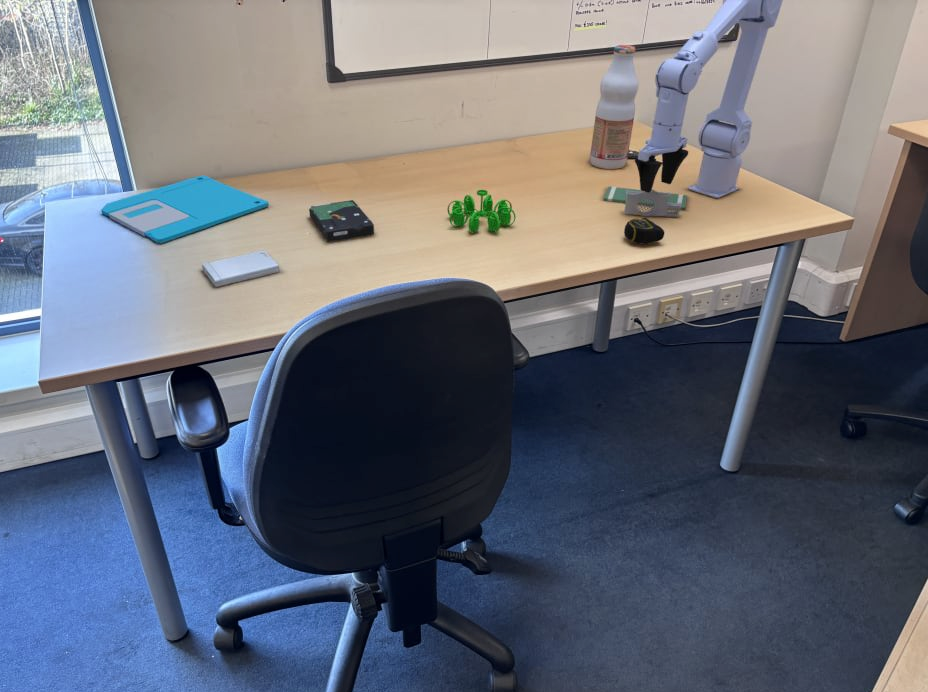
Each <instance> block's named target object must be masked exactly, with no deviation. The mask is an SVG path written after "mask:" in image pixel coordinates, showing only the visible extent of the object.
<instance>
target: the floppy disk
mask: <svg viewBox="0 0 928 692" xmlns="http://www.w3.org/2000/svg"><path fill="white" fill-rule="evenodd" d="M269 205H270V204H269V201H268V200H266V199H263V198H260V197H257V196H254V195H252V194H250V193H247V192H244V191H242V190H241V189H238V188H235V187H233V186H230V185H227V184H225V183H223V182H220V181H218V180H215V179H213V178H211V177H208V176H207V175H199V176H195V177H192V178H188V179H185V180H181V181H177V182H175V183H172V184H168V185H163V186H161V187H158V188H155V189H152V190H148V191H145V192H141V193H138V194H135V195H131V196H128V197H124V198H121V199H118V200H114V201H110V202H108V203H106V204H105V205H104V206H103V207H102V208H101V209H100V211H101V214H103V215H105V216H107V217H109V219H111V220H112V221H114V222H117V223H119V224H120V225H122V226H123V227H126V228H128V229H130V230H132V231H133V232H135V233H137V234H139V235H141V236H143V237H148V238H150V239H151V240H152V241H153V242H156V243H157V244H163V243H166V242H169V241H172V240H175V239H178V238H180V237H184V236H186V235H189V234H192V233H195V232H198V231H201V230H204V229H207V228H209V227H212V226H215V225H218V224H221V223H224V222H226V221H230V220H233V219H235V218H238V217H242V216H244V215H247V214H250V213H252V212H255V211H258V210H262V209H264V208H267V207H269Z"/></svg>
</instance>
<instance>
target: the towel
mask: <svg viewBox="0 0 928 692" xmlns="http://www.w3.org/2000/svg"><path fill="white" fill-rule="evenodd" d="M626 190H629V191H640V190H641V189H635V188H625V187H617V186H607V188H606V191H605V193H604V196H603V201H605V202H614V203H622V204H626V198H627V194H626ZM658 192H659V193H663V192H662V191H658ZM645 199H646V200H645ZM649 199H650V198H648V199H647V198H644V199H642V200H641V201H642V202H641V201H639V202H641V203H643V202H645V201H647V200H649ZM643 200H644V201H643ZM687 200H688V195H687V194H680V193H670V197H668V201H667V202H669V203H682V206H681V207H680V210H679V211H685V210H686V207H687ZM651 201H653V200H652V199H651ZM651 201H650V200H649V202H651ZM647 202H648V201H647ZM649 202H648V203H649ZM641 203H640V204H641ZM645 203H646V202H645ZM645 203H643V204H644V206H645ZM652 203H653V204H652ZM640 204H638V205H639V206H640ZM643 204H641V205H642V206H643ZM650 204H652V205H650ZM650 204H648V205H650V206H648V205H647V203H646V206H648V207H651V206H652V207H654V206H653V205H655V204H654V202H651V203H650ZM646 206H645V207H646Z"/></svg>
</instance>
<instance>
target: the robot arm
mask: <svg viewBox="0 0 928 692" xmlns="http://www.w3.org/2000/svg"><path fill="white" fill-rule="evenodd" d="M783 1H784V0H722V5H721V6H720V7H719V9H718V11H717V12H716V13H715V15H714V16H713V17H712V19H711V20H710V21H709V23H708V24H707V25H706V27H705V28H704V30H698V31H695V32H694V33H692V34H693V35H691V37H690V38H689V39H688V40H687V41H686V42H685V44H684V45H683V46H682V47H681V48H680V50H679V51H678V52H676V54H675V55H674V56H673V57H670V58H667V59H665V60H663V61H662V62H661V63H660V65H659V66H658V69H657V72H656V73H655V77H654V82H655V86H656V89H655V90H656V91H655V96H656V98H657V101H656V108H655V111H654V112H655V114H654V118H653V124H652V129H651V134H650V138H649V139H646V140H645V146H644V147H643V148H641V149H639V151H638V155H635V157H634V162H635V165H636V167H637V172H638V175H639V188H640V190H641V191H645V192H648V193H649V192H650V191H651V189H652V190H653V187H654V183H655V179H656V177H657V175H658V172H659V170H660V168H661V174H660V177H661V178H660V182H661V183H663V184H666V185H672V183H673V181H674V178H675V176H676V173H678V170H679V168H680V166H681V165H682V163H683V162H684V161H685V159H686V158H687V157H688V155H689V151H688V150H687V149H685V148H687V144H688V139H689V138H687V137H685V136H681V135H682V130H683V124H684V119H685V115H686V110H687V104H688V99H689V94H690V92H691V91H692V90H693V89H695V87H696V86H697V83H698V81H699V78H700V77H701V75H702V72H703V68H704V67H705V66H706V64H707V63H708V62H709V61H710V60H711V59H712V58H713V56H714V55H715V54H716V53H717V52H718V49H719V43H718V42H719V41H720V40H721V39H723V37H724V36H726V34H727V33H728V32H729V31H730V30H731V29H732V28H733V27H734V26H735V25H737V24H738V25H739V28H740V30H741V33H740V35H739V36H740V37H739V39H738V42H737V45H736V49H735V54H734V56H733V60H732V63H731V67H730V70H729V73H728V77H727V79H726V80H727V81H726V84H725V87H724V91H723V95H722V96H721V97H722V98H721V101H720V104H719V107H718V108H716V109H714V110H712V111H710V112H709V113H707V114H706V117H705V120H704V122H703V124H702V126H701V127H700V129H699V132H698V137H697V138H698V144H699V147H701V149H700V151H701V152H702V153H703V154H702V157H701V163H700V167H699V172H698V177H697V180H696V183H695V184H693V185H691V186H688V188H687V190H689V191H692V192H696V193H698V194H702V195H706V196H708V197H712V198H715V199H720V198H722V197H724V196H727V195H729V194H731V193H733V192H736V191H738V190H739V189H740V187H739V186H737V182H738V178H739V174H740V170H741V167H742V156H741V154H743V153H744V152H745V151H746V149H747V148H748V145H749V143H750V139H751V132H752V131H751V129H752V125H753V121H752V119H751V118H750V117H749V115H748V114H747V113H746V111H745V110H744V109H745V106H746V103H747V100H748V97H749V93H750V90H751V87H752V83H753V81H754V77H755V75H756V70H757V67H758V65H759V61H760V58H761V55H762V52H763V48H764V44H765V41H766V38H767V35H768V32H769V29H772V28H774V27H775V26H776V22H777V20H778V18H779V13H780V10H781V8H782V4H783ZM657 156H661V161H659V160H657V158H656V157H657Z"/></svg>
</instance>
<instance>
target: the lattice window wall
mask: <svg viewBox="0 0 928 692" xmlns="http://www.w3.org/2000/svg"><path fill="white" fill-rule="evenodd" d="M639 190H640V191H629V190H626V194H627V198H626V203H624V204H625V205H624V211H623V212H624V215H634V216H635V215H636V216H637V215H638V216H641V217H649V216H651V217H653V216H654V217H669V218H671V217H672V218H678V217H679V214H680V211H681V210H680V207H681V206H682V203H669V202H667V201H668V197H670V194H671V192H662V193H659V192H660V191H657V190H654V189H653V188H652V189H651V191H650V192H649V193H648V192H645V191H641V189H639ZM644 198H647V199H648V198H650V199H649V200H650V201H651V199H652V200H653V201H651V202H654V204H655V205H653V206H650V205H652V204H653V203H652V204H650V203H651V202H649V200H647V201H648V202H649V203H648V202H647V201H645V202H646V203H647V205H648V204H650V205H648V206H646V203H645V202H643V203H645V205H644V204H643V203H641V202H642V201H641V200H642V199H644ZM645 200H646V199H645ZM639 201H641V202H639ZM643 201H644V200H643ZM640 203H641V204H643V205H641V204H640ZM638 204H640V205H638Z"/></svg>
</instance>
